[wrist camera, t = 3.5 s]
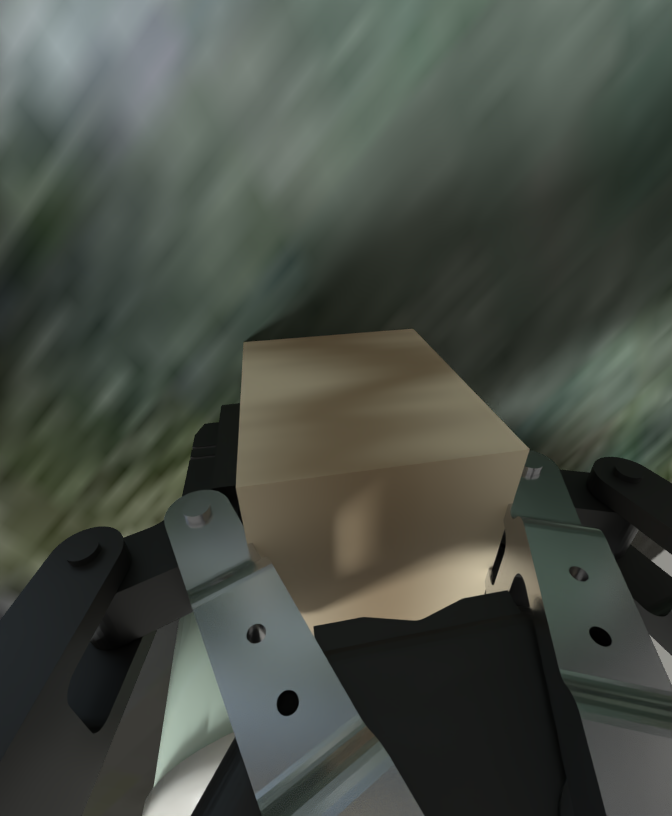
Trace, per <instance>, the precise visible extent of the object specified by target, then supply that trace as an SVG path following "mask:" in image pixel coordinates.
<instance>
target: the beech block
mask: <svg viewBox="0 0 672 816" xmlns="http://www.w3.org/2000/svg"><path fill="white" fill-rule="evenodd" d="M529 450H530V449H529V448H528V447H527V446H526V445H525V444H524V443H523V442H522V441H521V440H520V439H519V438H518V437H517V436H516V435H515V434H514V433H513V432H512V430H511V429H510V428H509V427H508V426H507V425H506V424H505V423H504V422H503V421H502V420H501V419H500V418H499V417H498V416H497V415H496V414H495V413H494V412H493V411H492V410H491V409H490V408H489V407H488V406H487V405H486V404H485V403H484V401H483V400H482V399H481V398H480V397H479V396H478V395H477V394H476V393H475V392H474V391H473V390H472V389H471V388H470V387H469V386H468V385H467V384H466V383H465V382H464V381H463V380H462V379H461V378H460V377H459V376H458V375H457V374H456V373H455V371H454V370H453V369H452V368H451V367H450V366H449V365H448V364H447V363H446V362H445V361H444V360H443V359H442V358H441V357H440V356H439V355H438V354H437V353H436V352H435V351H434V350H433V349H432V348H431V347H430V346H429V345H428V344H427V342H426V341H425V340H424V339H423V338H422V337H421V336H420V335H419V334H418V333H417V332H416V331H415V330H414V329H402V330H390V331H377V332H365V333H352V334H339V335H327V336H314V337H302V338H289V339H277V340H264V341H251V342H244V344H243V363H242V381H241V400H240V418H239V437H238V455H237V473H236V491H237V496H238V501H239V506H240V511H241V516H242V521H243V526H244V531H245V536H246V541H247V544H248V543H253V545H254V547H255V548H256V550H257V552H258V554H259V555H260V557H261V558H263V557H267V558H268V559H269V560H270V562H271V563H272V565H273V566H274V568H275V570H276V571H277V573H278V575H279V577H280V578H281V580H282V582H283V584H284V585H285V587H286V589H287V591H288V592H289V594H290V596H291V598H292V599H293V601H294V603H295V604H296V606H297V608H298V610H299V611H300V613H301V615H302V617H303V618H304V620H305V622H306V624H307V625H308V627H309V629H310V631H311V632H312V634H313V636H314V629H313V626H317V625H323V624H328V623H333V622H339V621H344V620H350V619H355V618H360V617H372V618H386V619H399V620H413V621H415V620H421V619H424V618H426V617H427V616H429V615H431V614H433V613H435V612H437V611H439V610H441V609H443V608H445V607H447V606H449V605H451V604H453V603H455V602H457V601H458V600H460V599H462V598H468V597H473V596H478V595H484V593H485V590H486V587H485V579H486V576H487V572H488V569H489V568H493V565H494V561H495V558H496V555H497V552H498V549H499V545H500V542H501V539H502V536H503V533H504V530H505V527H504V521H503V520H504V516H505V513H506V510H507V507H508V504H511V503H513V501H514V498H515V494H516V491H517V488H518V485H519V482H520V479H521V475H522V472H523V469H524V466H525V463H526V459H527V456H528V453H529Z"/></svg>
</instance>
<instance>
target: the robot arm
mask: <svg viewBox="0 0 672 816" xmlns="http://www.w3.org/2000/svg"><path fill="white" fill-rule="evenodd" d="M239 418H240V403H238V404H229V405H222V406H221V413H220V420H219V422H217V423H208V424H204V425H203V427H202V428H201V429H200V430H199V431H198V432H197V434H196V435H195V438H194V443H193V447H192V448H193V450H192V452H191V457H190V458H191V460H190V461H189V466H188V471H187V475H186V480H185V485H184V490H183V494H182V497H181V498H179V499H178V500H176V501H175V502H174V503H173V504H172V505H171V506H170V507H169V509H168V510H167V512H166V514H165V518H164V520H163V521H162V522H160V523H159V524H157V525H155V526H153V527H150V528H148V529H145V530H143V531H140V532H138V533H135V534H132V535H130V536H127V537H124V538H123V536H122V535H121V533H120V532H119V531H118V530H116V529H114V528H111V527H94V528H90V529H86V530H83V531H81V532H78V533H76V534H74V535H72V536H71V537H69V538H67V539H66V540H65V541H63V542H62V543H61V544H59V545H58V546H57V547H56V548H55V549H54V550H53V551H52V553H51V554H50V555H49V556H48V558H47V559H46V560H45V562H44V563H43V564H42V566H41V567H40V568H39V570H38V571H37V572H36V574H35V575H34V576H33V578H32V579H31V580H30V582H29V583H28V584H27V586H26V587H25V588H24V589H23V591H22V592H21V593H20V595H19V596H18V597H17V599H16V600H15V601H14V603H13V604H12V605H11V607H10V608H9V609H8V611H7V612H6V613H5V615H4V616H3V617H2V619H1V620H0V816H82V814H83V811H84V809H85V806H86V804H87V801H88V799H89V797H90V794H91V792H92V789H93V787H94V784H95V782H96V779H97V777H98V774H99V772H100V769H101V767H102V764H103V762H104V760H105V757H106V755H107V752H108V750H109V747H110V745H111V742H112V740H113V737H114V735H115V732H116V730H117V727H118V725H119V723H120V720H121V718H122V715H123V713H124V710H125V708H126V705H127V703H128V700H129V698H130V695H131V693H132V690H133V688H134V685H135V683H136V681H137V678H138V676H139V673H140V671H141V668H142V666H143V663H144V661H145V658H146V656H147V653H148V651H149V648H150V646H151V644H152V641H153V639H154V636H155V634H156V631H157V629H159V628H161V627H163V626H165V625H167V624H169V623H171V622H173V621H175V620H177V619H180V618H182V617H184V616H186V615H188V614H190V613H192V612H194V615H195V618H196V621H197V624H198V627H199V630H200V633H201V636H202V639H203V642H204V645H205V648H206V651H207V654H208V657H209V660H210V663H211V666H212V669H213V672H214V675H215V678H216V681H217V684H218V687H219V690H220V693H221V696H222V699H223V701H224V704H225V707H226V710H227V713H228V716H229V719H230V722H231V725H232V728H233V731H234V734H235V738H234V739H233V741H232V743H231V745H230V746H229V748H228V750H227V752H226V754H225V755H224V757H223V759H222V761H221V763H220V764H219V766H218V768H217V770H216V771H215V773H214V775H213V777H212V779H211V780H210V782H209V784H208V786H207V787H206V789H205V791H204V793H203V795H202V796H201V798H200V800H199V802H198V803H197V805H196V807H195V809H194V810H193V812H192V814H191V816H672V685H671V683H670V680H669V678H668V675H667V673H666V671H665V669H664V667H663V664H662V662H661V660H660V658H659V656H658V653H657V651H656V649H655V647H654V645H653V642H652V640H651V638H650V636H649V635H651V636H652V637H653V638H654V639H655V640H656V641H657V642H658V643H659V644H660V645H661V646H662V647H663V648H664V649H665V650H666V651H667V652H669V653H670V654H671V655H672V577H671V576H670V575H668V574H667V573H666V572H665V571H663V570H662V569H661V568H660V567H658V566H657V565H656V564H655V563H653V562H652V561H651V560H650V559H648V558H647V557H646V556H645V555H643V554H642V553H641V552H639V551H638V550H637V549H636V548H634V547H633V546H632V545H631V542H632V540H633V539H634V537H635V535H636V533H637V532H638V530H640V531H641V532H643V533H644V534H645V535H647V536H648V537H649V538H651V539H652V540H653V541H655V542H656V543H657V544H659V545H660V546H661V547H663V548H664V549H665V550H667V551H668V552H669V553H671V554H672V483H670V482H669V481H667V480H665V479H664V478H662V477H660V476H659V475H657V474H656V473H654V472H652V471H651V470H649V469H647V468H646V467H644V466H642V465H640V464H638V463H636V462H633V461H630V460H627V459H623V458H617V457H604V458H600V459H598V460H597V461H595V463H594V465H593V467H592V469H591V472H590V473H587V472H577V471H566V470H559V468H558V466H557V465H556V464H555V463H554V462H553V461H552V460H551V459H549V458H548V457H546V456H545V455H543V454H540V453H538V452H535V451H532V450H529V453H528V456H527V459H526V463H525V466H524V469H523V472H522V475H521V479H520V482H519V485H518V488H517V491H516V494H515V498H514V501H513V503H511V504H508V507H507V510H506V513H505V516H504V520H503V521H504V527H505V530H504V533H503V536H502V539H501V542H500V545H499V549H498V552H497V555H496V558H495V561H494V565H493V568H489V569H488V572H487V576H486V579H485V587H486V594H484V595H478V596H473V597H468V598H462V599H460V600H458V601H457V602H455V603H453V604H451V605H449V606H447V607H445V608H443V609H441V610H439V611H437V612H435V613H433V614H431V615H429V616H427V617H426V618H424V619H421V620H415V621H413V620H399V619H386V618H372V617H360V618H355V619H350V620H344V621H339V622H333V623H328V624H323V625H317V626H313V629H314V636H313V634H312V632H311V631H310V629H309V627H308V625H307V624H306V622H305V620H304V618H303V617H302V615H301V613H300V611H299V610H298V608H297V606H296V604H295V603H294V601H293V599H292V598H291V596H290V594H289V592H288V591H287V589H286V587H285V585H284V584H283V582H282V580H281V578H280V577H279V575H278V573H277V571H276V570H275V568H274V566H273V565H272V563H271V562H270V560H269V559H268V558H267V557H263V558H261V557H260V555H259V554H258V552H257V550H256V548H255V547H254V545H253V543H248V544H247V541H246V536H245V531H244V526H243V521H242V516H241V511H240V506H239V501H238V496H237V491H236V473H237V455H238V437H239Z"/></svg>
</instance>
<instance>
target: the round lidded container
mask: <svg viewBox="0 0 672 816" xmlns="http://www.w3.org/2000/svg"><path fill="white" fill-rule="evenodd" d="M234 738H235V734H234V731H233V728H232V725H231V722H230V719H229V716H228V713H227V710H226V707H225V704H224V701H223V699H222V696H221V693H220V690H219V687H218V684H217V681H216V678H215V675H214V672H213V669H212V666H211V663H210V660H209V657H208V654H207V651H206V648H205V645H204V642H203V639H202V636H201V633H200V630H199V627H198V624H197V621H196V618H195V615H194V612H192V613H190V614H188V615H186V616H184V617H182V618H180V619H179V624H178V631H177V637H176V644H175V650H174V657H173V664H172V670H171V677H170V683H169V690H168V697H167V703H166V710H165V716H164V723H163V730H162V736H161V743H160V749H159V756H158V763H157V769H156V776H155V782H154V787H153V789H152V790H151V792H150V794H149V795H148V797H147V799H146V801H145V805H144V809H143V814H142V816H191V814H192V812H193V810H194V809H195V807H196V805H197V803H198V802H199V800H200V798H201V796H202V795H203V793H204V791H205V789H206V787H207V786H208V784H209V782H210V780H211V779H212V777H213V775H214V773H215V771H216V770H217V768H218V766H219V764H220V763H221V761H222V759H223V757H224V755H225V754H226V752H227V750H228V748H229V746H230V745H231V743H232V741H233V739H234Z"/></svg>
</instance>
